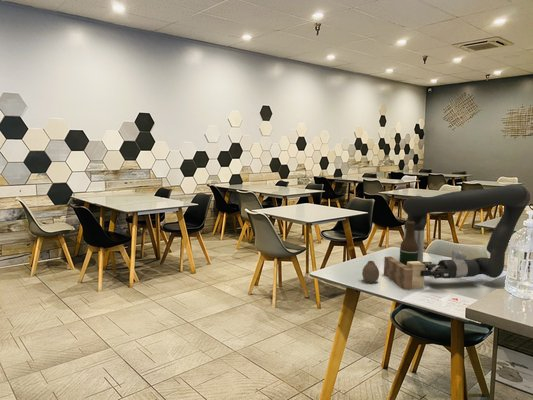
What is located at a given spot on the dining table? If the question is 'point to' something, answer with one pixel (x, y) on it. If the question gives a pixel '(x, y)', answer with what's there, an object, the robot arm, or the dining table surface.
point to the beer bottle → (409, 245)
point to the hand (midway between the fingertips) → (415, 270)
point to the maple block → (417, 274)
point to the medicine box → (458, 255)
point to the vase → (370, 272)
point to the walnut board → (398, 272)
